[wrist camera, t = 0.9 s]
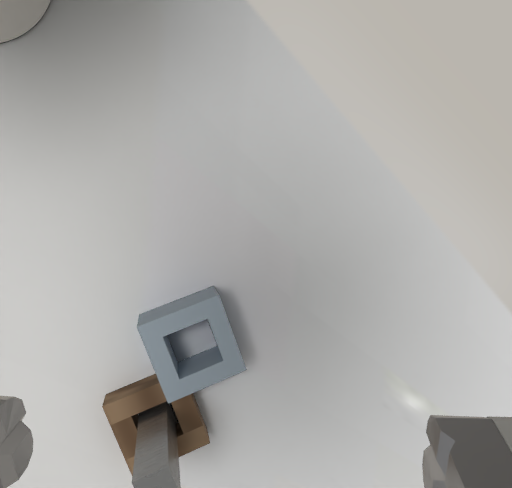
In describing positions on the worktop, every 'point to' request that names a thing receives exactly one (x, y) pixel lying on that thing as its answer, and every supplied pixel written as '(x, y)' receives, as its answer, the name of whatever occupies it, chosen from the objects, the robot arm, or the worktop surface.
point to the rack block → (198, 366)
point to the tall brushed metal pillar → (156, 449)
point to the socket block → (145, 397)
